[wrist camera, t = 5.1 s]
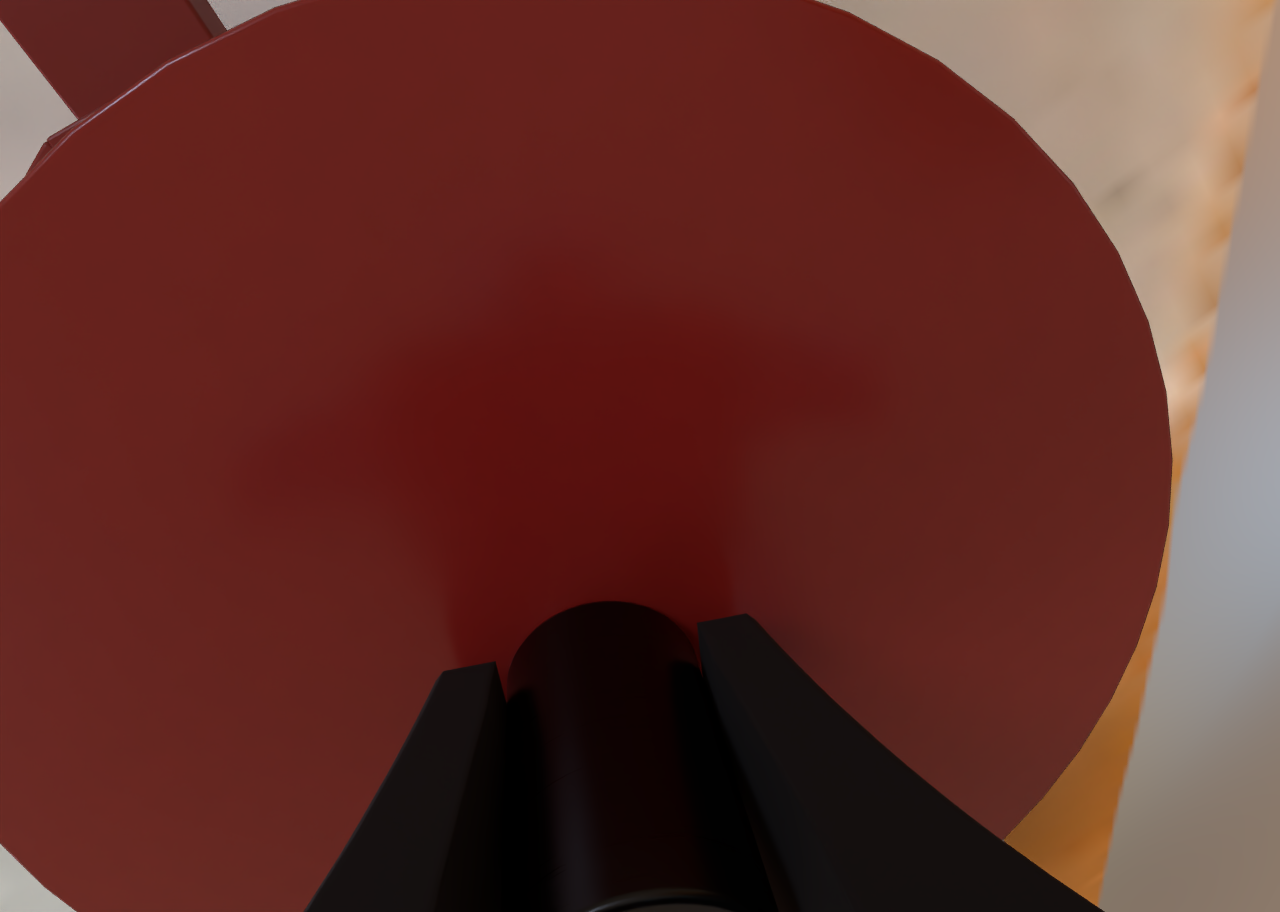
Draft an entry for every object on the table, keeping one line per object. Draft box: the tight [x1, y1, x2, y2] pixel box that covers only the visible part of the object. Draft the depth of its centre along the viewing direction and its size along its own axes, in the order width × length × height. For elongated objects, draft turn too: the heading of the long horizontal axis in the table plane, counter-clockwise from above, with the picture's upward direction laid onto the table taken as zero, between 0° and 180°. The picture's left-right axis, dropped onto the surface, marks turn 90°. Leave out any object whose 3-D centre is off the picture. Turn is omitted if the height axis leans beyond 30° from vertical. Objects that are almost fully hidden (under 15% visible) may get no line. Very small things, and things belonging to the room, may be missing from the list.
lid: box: [0, 0, 1172, 912], centre depth 8 cm, size 15×15×5 cm
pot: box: [0, 0, 227, 176], centre depth 15 cm, size 14×20×5 cm
